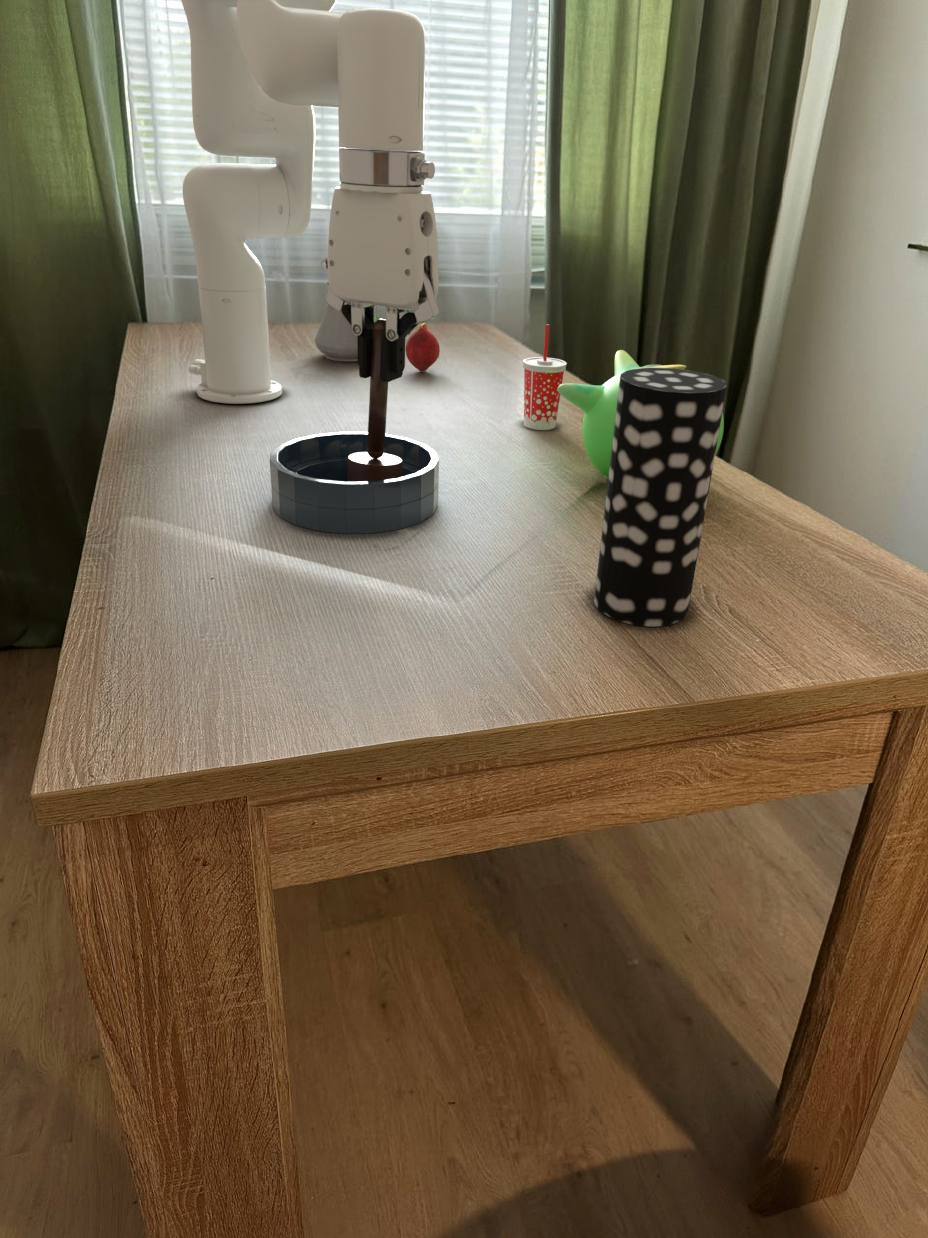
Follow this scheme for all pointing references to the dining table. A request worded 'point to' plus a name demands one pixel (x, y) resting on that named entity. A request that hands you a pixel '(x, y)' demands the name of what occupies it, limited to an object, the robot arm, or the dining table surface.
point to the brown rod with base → (375, 425)
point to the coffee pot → (336, 335)
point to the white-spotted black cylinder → (657, 493)
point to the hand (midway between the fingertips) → (381, 375)
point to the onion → (422, 348)
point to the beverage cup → (542, 389)
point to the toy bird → (606, 410)
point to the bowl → (351, 484)
